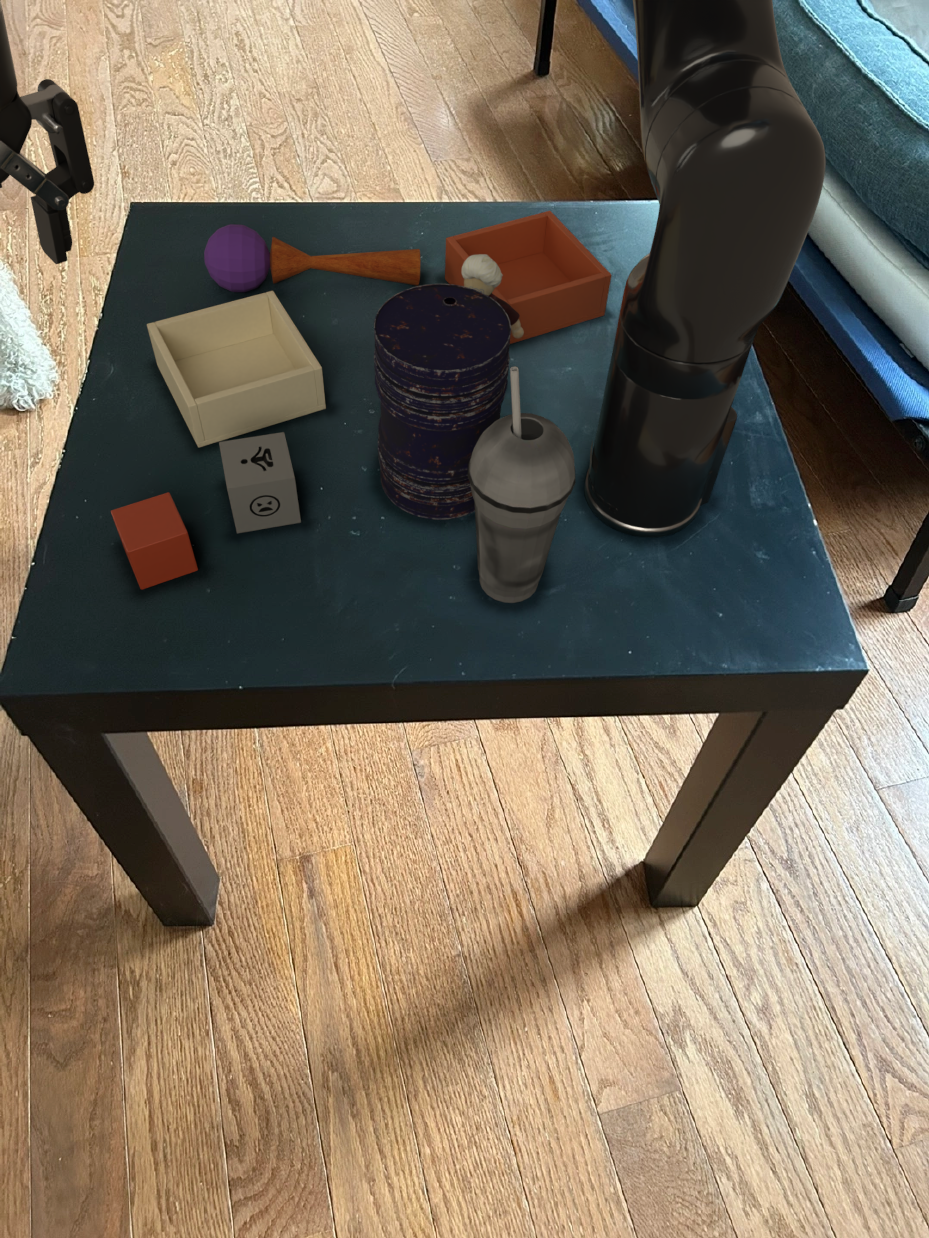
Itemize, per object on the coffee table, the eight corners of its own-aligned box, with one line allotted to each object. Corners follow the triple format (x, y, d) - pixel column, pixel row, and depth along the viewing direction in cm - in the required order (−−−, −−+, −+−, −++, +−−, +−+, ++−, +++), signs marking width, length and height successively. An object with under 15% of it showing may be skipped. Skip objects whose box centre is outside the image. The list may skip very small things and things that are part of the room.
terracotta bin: (545, 251, 101) (550, 210, 97) (604, 315, 95) (612, 274, 92) (444, 278, 98) (445, 237, 94) (499, 347, 92) (503, 306, 88)
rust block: (180, 530, 77) (169, 491, 74) (198, 570, 75) (187, 532, 72) (124, 549, 76) (110, 510, 73) (141, 590, 74) (127, 552, 70)
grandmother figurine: (431, 396, 88) (433, 270, 77) (431, 367, 90) (433, 241, 80) (518, 397, 88) (532, 273, 78) (516, 368, 90) (529, 244, 80)
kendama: (423, 267, 92) (200, 257, 89) (417, 313, 97) (206, 304, 94) (419, 220, 94) (203, 208, 91) (414, 267, 100) (209, 257, 97)
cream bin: (278, 332, 92) (272, 290, 88) (326, 408, 86) (322, 367, 82) (157, 365, 89) (146, 323, 85) (198, 448, 83) (188, 406, 79)
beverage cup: (548, 626, 73) (586, 423, 57) (452, 608, 74) (462, 402, 58) (563, 552, 78) (601, 343, 61) (471, 535, 78) (485, 324, 62)
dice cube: (301, 522, 78) (294, 477, 74) (237, 533, 77) (227, 488, 73) (290, 477, 81) (284, 432, 77) (228, 487, 80) (218, 442, 76)
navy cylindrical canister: (488, 529, 79) (501, 382, 67) (366, 511, 79) (357, 361, 67) (506, 442, 84) (521, 292, 72) (393, 425, 85) (389, 274, 73)
